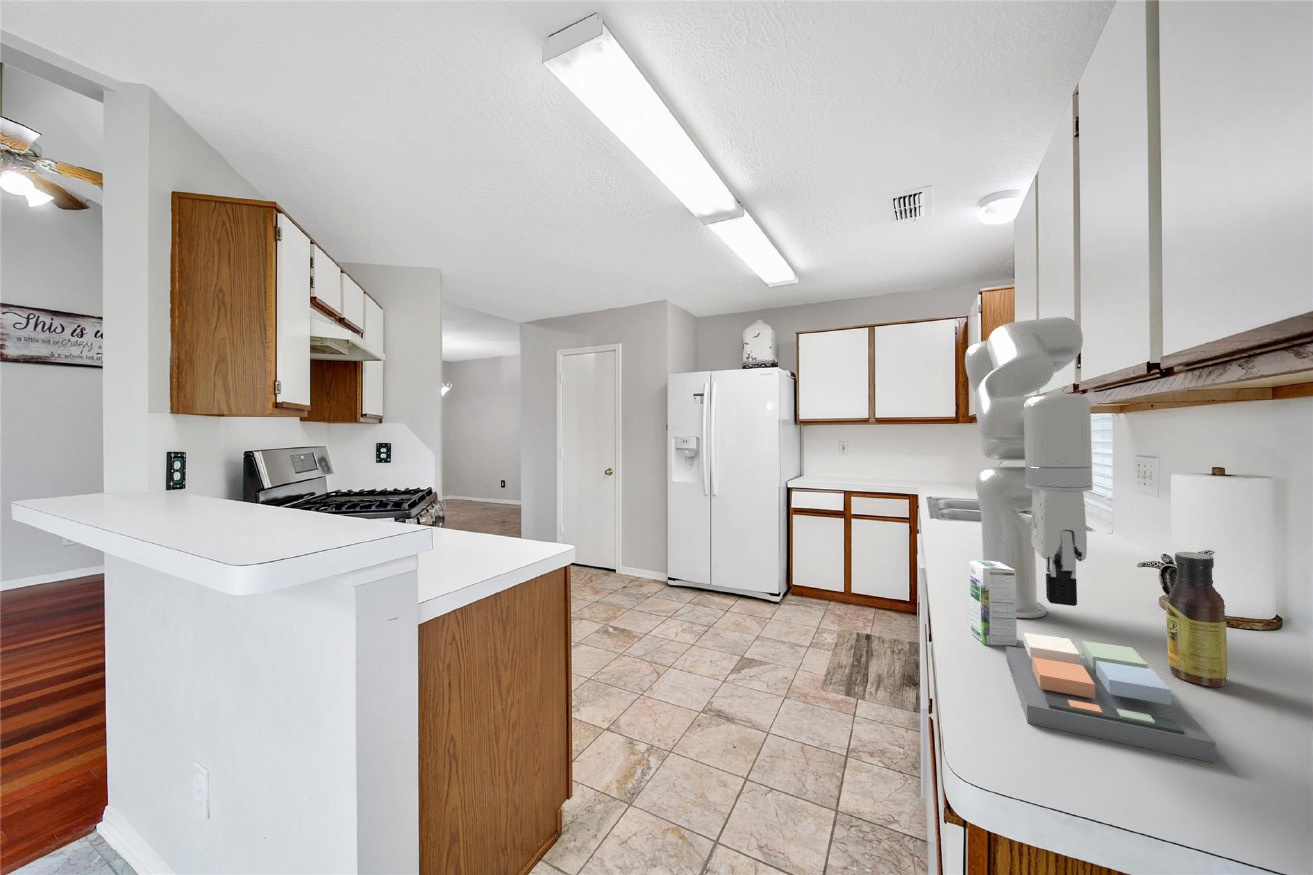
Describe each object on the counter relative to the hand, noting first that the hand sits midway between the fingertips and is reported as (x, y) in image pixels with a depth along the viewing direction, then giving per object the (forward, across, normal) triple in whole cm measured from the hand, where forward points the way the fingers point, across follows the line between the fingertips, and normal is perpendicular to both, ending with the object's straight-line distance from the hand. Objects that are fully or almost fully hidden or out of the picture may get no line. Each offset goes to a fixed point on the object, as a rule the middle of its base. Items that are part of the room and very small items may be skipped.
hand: (1061, 602), depth 70 cm
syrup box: (+15, -21, -7) cm, 27 cm away
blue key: (+11, 0, +7) cm, 13 cm away
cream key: (+11, -7, 0) cm, 13 cm away
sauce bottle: (+15, -17, +19) cm, 30 cm away
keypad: (+15, -2, +3) cm, 15 cm away
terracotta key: (+12, 0, 0) cm, 12 cm away
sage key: (+11, -7, +7) cm, 15 cm away
